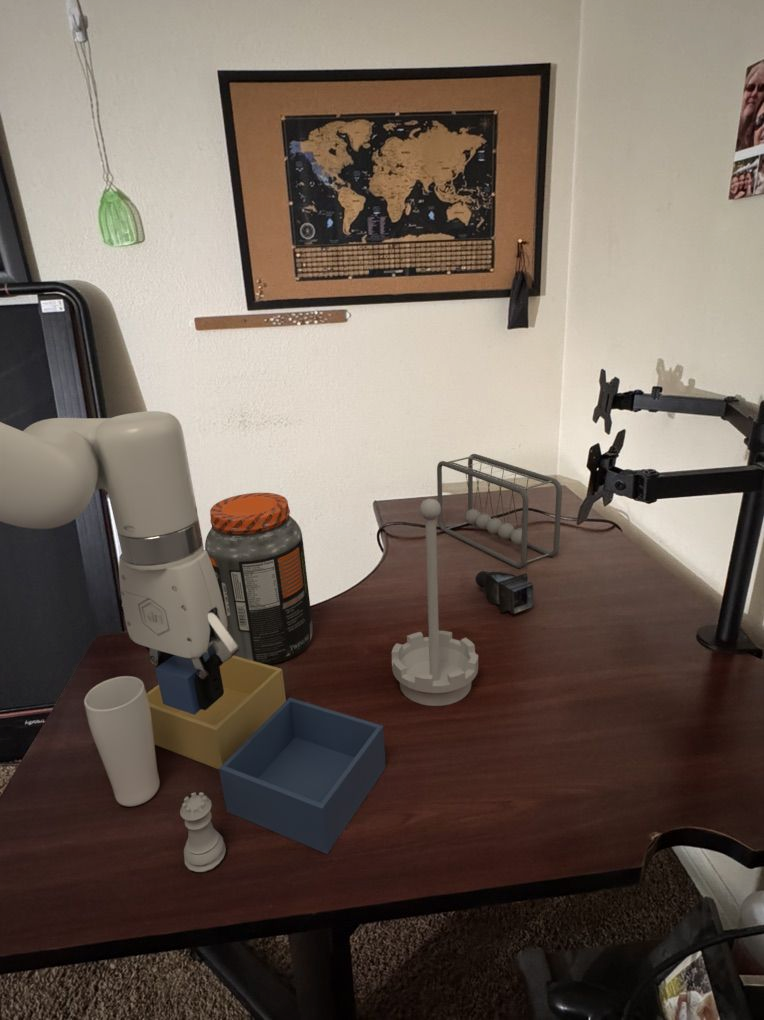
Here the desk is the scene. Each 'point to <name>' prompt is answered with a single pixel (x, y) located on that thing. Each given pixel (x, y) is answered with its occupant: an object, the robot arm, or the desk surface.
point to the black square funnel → (507, 590)
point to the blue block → (179, 683)
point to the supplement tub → (261, 576)
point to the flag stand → (434, 643)
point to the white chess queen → (201, 835)
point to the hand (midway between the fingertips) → (193, 694)
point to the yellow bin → (220, 713)
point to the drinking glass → (124, 737)
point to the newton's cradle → (495, 524)
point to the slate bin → (304, 773)
